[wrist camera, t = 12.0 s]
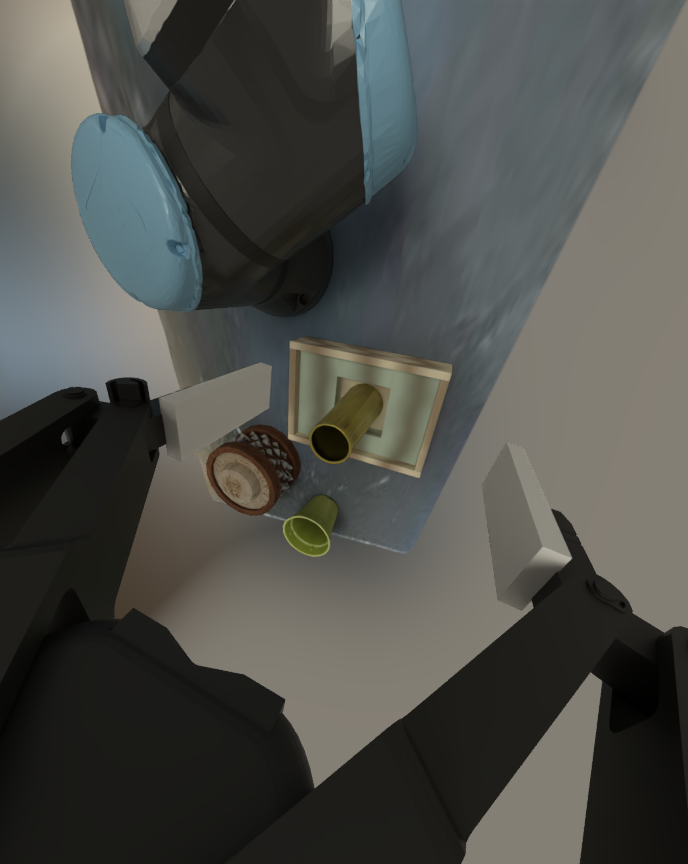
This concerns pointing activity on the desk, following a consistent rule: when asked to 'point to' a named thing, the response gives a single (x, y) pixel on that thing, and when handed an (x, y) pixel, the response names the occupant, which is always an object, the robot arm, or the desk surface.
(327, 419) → the vase
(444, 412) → the desk surface
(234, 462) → the spiked roller
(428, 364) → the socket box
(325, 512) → the plant pot
